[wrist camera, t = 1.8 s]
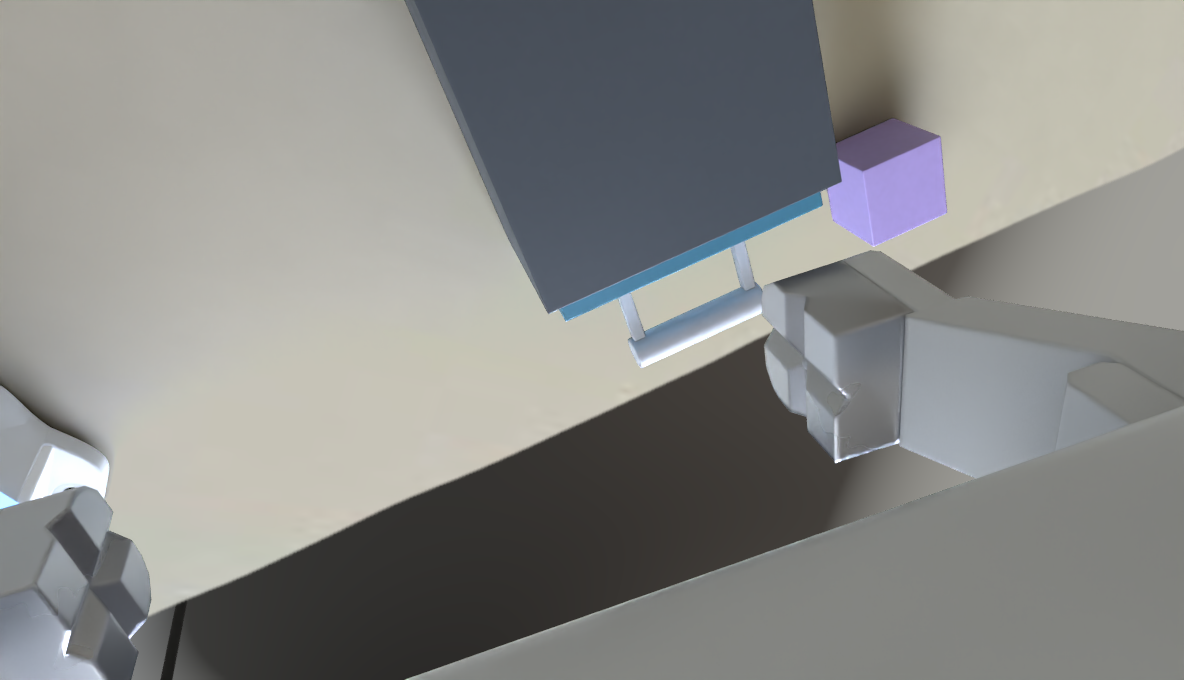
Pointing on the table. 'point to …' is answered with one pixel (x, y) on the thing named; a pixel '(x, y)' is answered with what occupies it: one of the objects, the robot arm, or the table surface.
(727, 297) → the blue drawer
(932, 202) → the purple cube
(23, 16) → the table surface
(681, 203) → the drawer cabinet
